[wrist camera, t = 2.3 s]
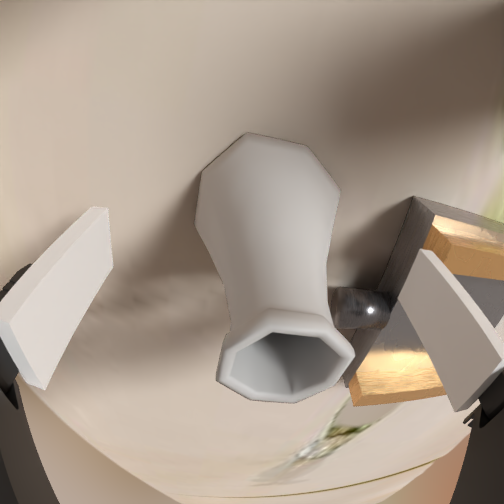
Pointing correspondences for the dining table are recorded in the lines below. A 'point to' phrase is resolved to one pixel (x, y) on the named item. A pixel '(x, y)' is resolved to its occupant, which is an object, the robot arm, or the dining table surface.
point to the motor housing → (394, 316)
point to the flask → (273, 268)
